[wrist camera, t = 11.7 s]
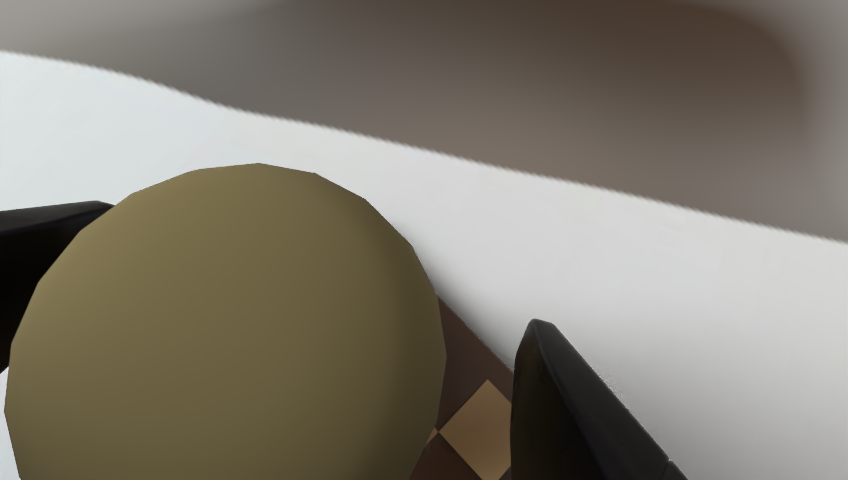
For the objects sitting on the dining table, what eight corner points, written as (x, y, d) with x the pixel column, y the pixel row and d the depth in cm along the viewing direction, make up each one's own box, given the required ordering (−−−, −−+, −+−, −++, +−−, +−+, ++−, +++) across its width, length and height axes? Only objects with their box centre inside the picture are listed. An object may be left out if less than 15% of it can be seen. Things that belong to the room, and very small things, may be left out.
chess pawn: (364, 248, 16) (307, 7, 6) (465, 395, 15) (622, 419, 5) (207, 348, 15) (-221, 268, 5) (304, 519, 14) (17, 940, 3)
